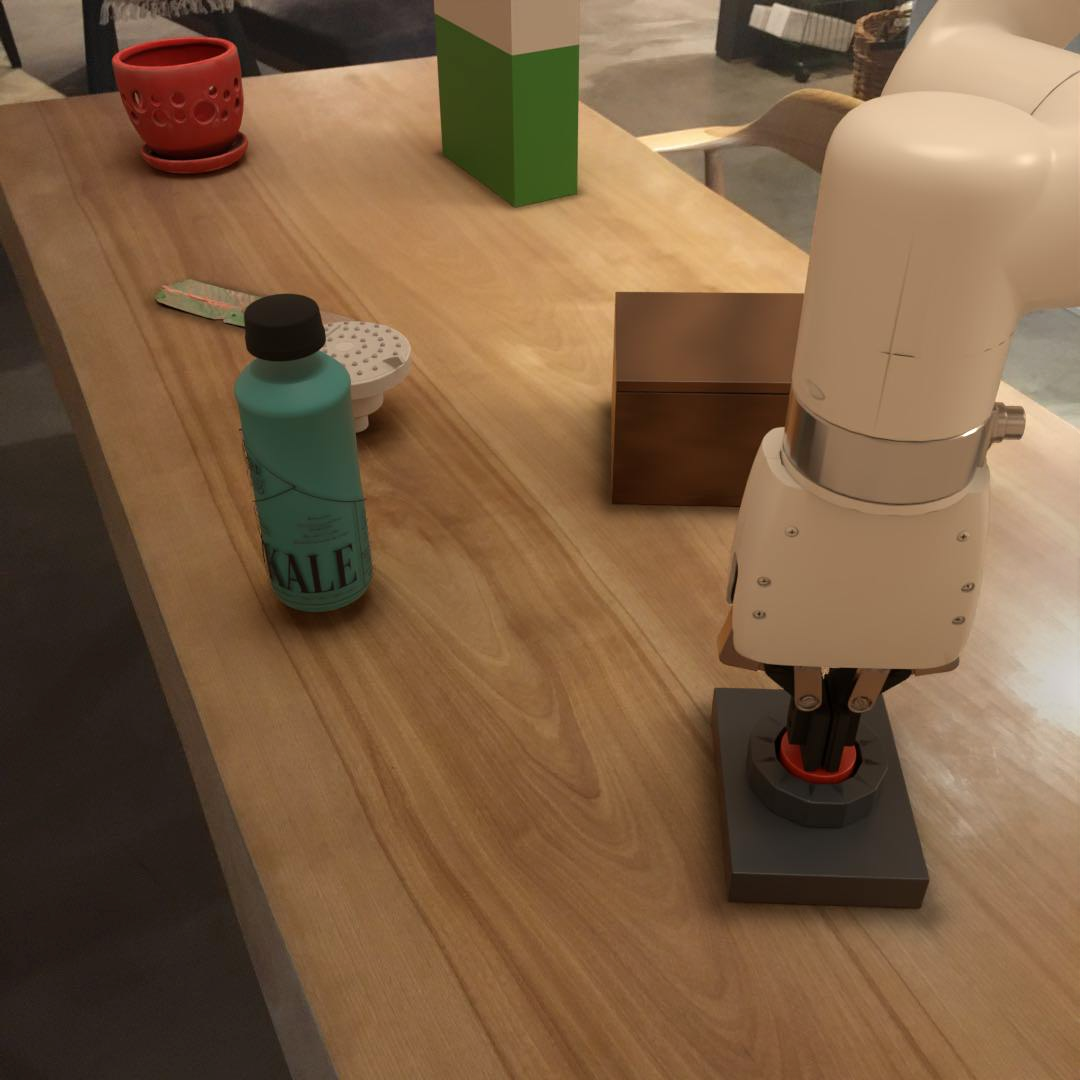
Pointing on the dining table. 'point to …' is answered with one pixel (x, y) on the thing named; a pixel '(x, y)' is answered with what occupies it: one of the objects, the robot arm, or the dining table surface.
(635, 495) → the chest
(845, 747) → the button
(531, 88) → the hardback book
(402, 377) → the showerhead
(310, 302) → the beverage bottle
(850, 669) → the robot arm
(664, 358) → the chest lid
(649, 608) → the dining table surface
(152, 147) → the plant pot
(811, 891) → the control block
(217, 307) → the map
